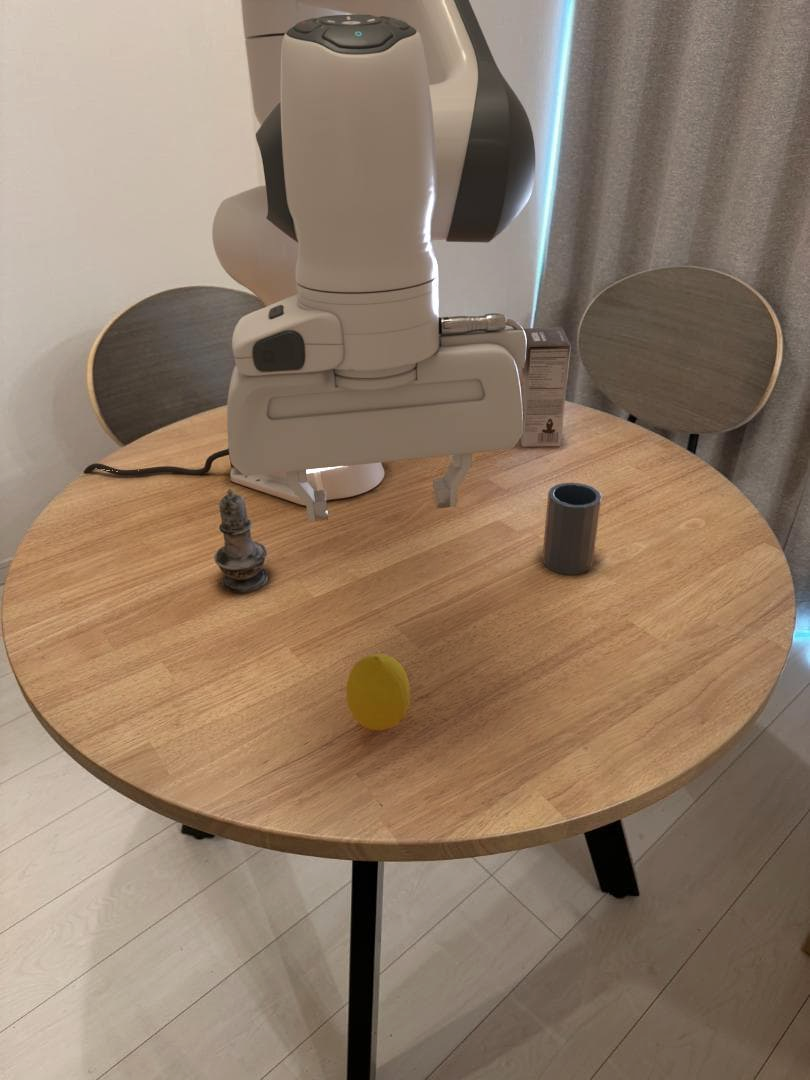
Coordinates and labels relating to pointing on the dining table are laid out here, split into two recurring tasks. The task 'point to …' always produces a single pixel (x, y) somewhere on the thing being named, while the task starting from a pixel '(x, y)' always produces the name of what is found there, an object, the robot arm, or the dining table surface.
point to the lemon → (378, 692)
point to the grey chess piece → (239, 548)
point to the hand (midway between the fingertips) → (382, 511)
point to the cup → (571, 528)
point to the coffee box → (544, 386)
